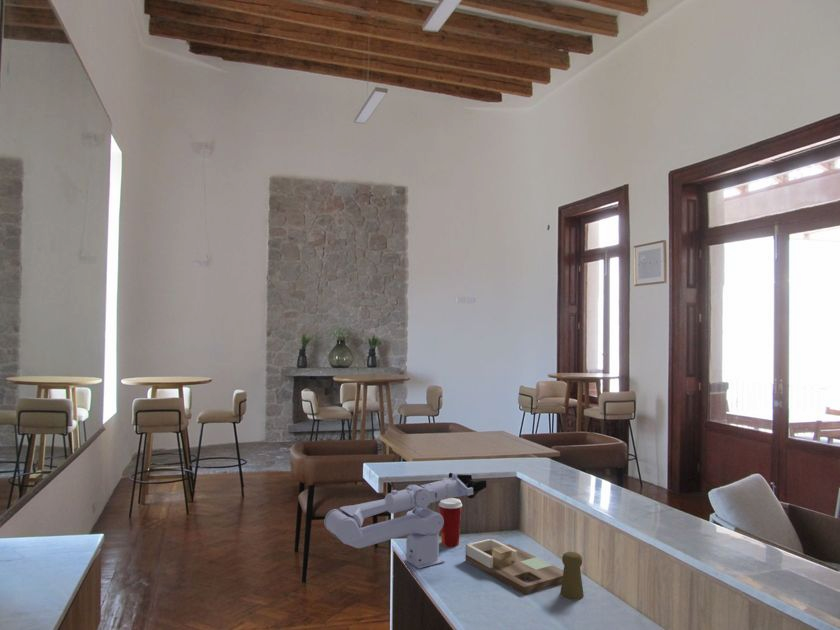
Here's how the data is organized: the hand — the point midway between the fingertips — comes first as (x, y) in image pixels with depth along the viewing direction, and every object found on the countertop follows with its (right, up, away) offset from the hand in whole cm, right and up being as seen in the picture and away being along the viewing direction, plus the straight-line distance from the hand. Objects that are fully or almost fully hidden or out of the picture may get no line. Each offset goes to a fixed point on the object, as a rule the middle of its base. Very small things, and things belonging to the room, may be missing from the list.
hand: (478, 480), depth 197 cm
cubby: (+3, -20, -12) cm, 23 cm away
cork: (+22, -22, -32) cm, 45 cm away
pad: (+15, -22, -16) cm, 31 cm away
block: (+5, -20, -17) cm, 26 cm away
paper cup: (-9, -22, +4) cm, 24 cm away
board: (+9, -22, -17) cm, 29 cm away
